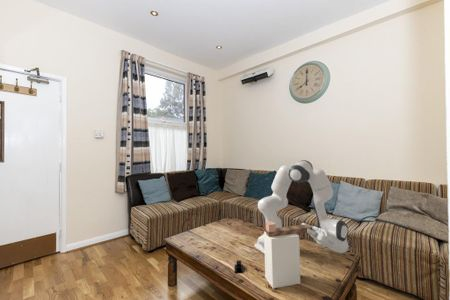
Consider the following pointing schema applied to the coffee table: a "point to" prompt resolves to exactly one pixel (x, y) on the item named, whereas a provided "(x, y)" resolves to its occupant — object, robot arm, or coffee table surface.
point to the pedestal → (282, 260)
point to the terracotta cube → (270, 226)
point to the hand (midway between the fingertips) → (304, 227)
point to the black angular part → (239, 267)
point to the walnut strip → (289, 230)
